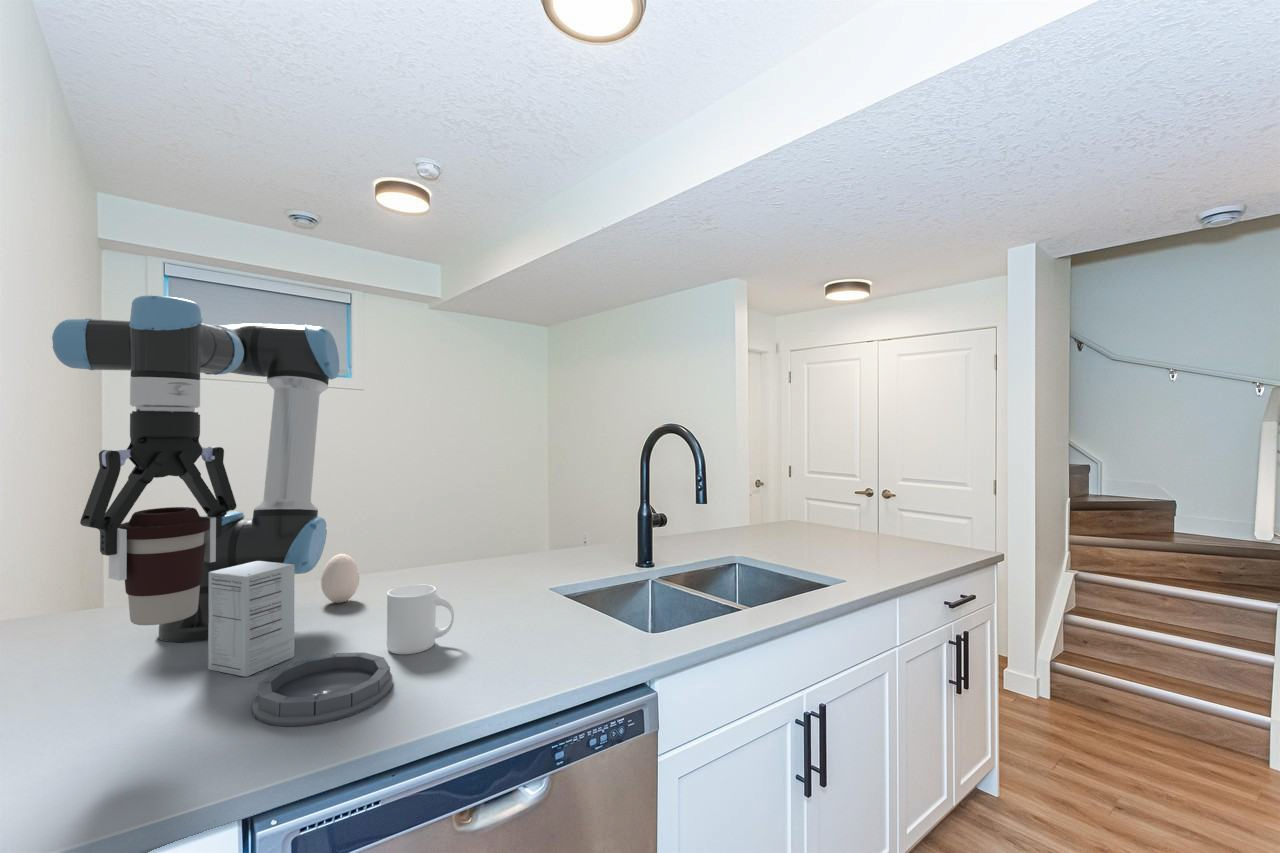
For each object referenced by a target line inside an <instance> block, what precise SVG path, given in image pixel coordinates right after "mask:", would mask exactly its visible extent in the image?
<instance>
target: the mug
mask: <svg viewBox="0 0 1280 853" xmlns="http://www.w3.org/2000/svg"><path fill="white" fill-rule="evenodd" d="M386 594H387V595H386V648H387V650H388V651H389V652H390V653H392V654H394V655H403V656H404V655H413V654H418V653H421V652H425V651H427V650H429V649H430V648H432V647H433V646H434V644H435V642H436V639H438V638H441V637H444V636H446V635H447V634H448V633H449V632H450V630H451V629H452V626H453V625H454V620H455V612H454V608H453V606H452V605H451V603H450V602H449V601H448V600H447V599H445V598H444V597H442V596H440V595H437V588H436V587H435V586H434V585H430V584H425V583H424V584H422V583H421V584H420V583H416V584H415V583H414V584H406V585H405V584H404V585H399V586H397V587H394V588H391V589H389V590H388V591H387V593H386ZM437 606H439V607H440V606H441V607H444V608H446V609H448V610H449V612H450V615H451V620H450V622H449V623H448V625H447V626H445V627H444V628H440V627H436V624H437V622H436V619H437V618H436V616H437V614H436V613H437V608H436V607H437Z"/></svg>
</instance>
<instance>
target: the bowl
mask: <svg viewBox="0 0 1280 853" xmlns="http://www.w3.org/2000/svg"><path fill="white" fill-rule="evenodd" d="M390 668H391V667H390V665H389V663H388V661H387V660H386V659H385V657H383V656H379V655H377V654H376V655H375V654H372V653H368V652H336V653H330V654H325V655H324V654H323V655H317V656H314V657H308V658H304V659H300V660H298V661H295V662H293V663H290V664H288V665H285V666H282V667H280V668H277V669H275V670H273V671H272V672H270V674H268V675H267V676H266V677H264V678H263V679H262V680H260V681H259V682H258V683H257V694H256V695H255V696H254V698H253V700H252V707H251V711H252V715H253V717H254V718H255V719H257V721H258V722H261V723H263V724H267V725H270V726H277V727H285V728H286V727H292V728H293V727H307V726H315V725H321V724H326V723H330V722H335V721H338V720H341V719H345V718H348V717H351V716H353V715H356V714H359V713H361V712H363V711H366V710H368V709H370V708H371V707H373V706H375V705H376V704H378V703H379V702H381V701H382V700H384V699H385V698H386V697H387V696H388V694H390V692H391V691H392V689H393V674H392V672H391V669H390Z"/></svg>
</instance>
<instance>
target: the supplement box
mask: <svg viewBox="0 0 1280 853" xmlns="http://www.w3.org/2000/svg"><path fill="white" fill-rule="evenodd" d="M207 640H208V644H207V646H208V651H207V655H208V657H207V662H208V663H207V664H208V665H207V667H208V670H210V671H214V672H221V673H225V674H229V675H235V676H240V677H245V678H246V677H249V676H251V675H253V674H256V673H259V672H261V671H264V670H266V669H268V668H272V667H273V666H276V665H278V664H281V663H282V662H283V663H284V662H285V661H287V660H290V659H293V658H294V657H295V574H294V564H285V563H275V562H266V561H254V562H249V563H245V564H241V565H237V566H233V567H228V568H224V569H219V570H215V571H211V572H209V625H208V639H207Z"/></svg>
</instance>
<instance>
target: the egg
mask: <svg viewBox="0 0 1280 853" xmlns="http://www.w3.org/2000/svg"><path fill="white" fill-rule="evenodd" d="M321 573H322V574H321V577H320V578H321V579H320V581H321V582H320V584H321V590H322V593H323V595H324V596H325V597H326V599H328V600H329V601H331V603H336V604H341V603H345V602H346V601H348V600H350V599H351V598H352V597H353V596H354V595H355V593H356V592H357V590H358V587H359V585H360V572H359V568H358V565H357V563H356V561H355V560H354V559H353V558H352V557H351V556H350V555H348V554H345V553H338V554H336V555H334V556H333V557H331V558H330V559H329V560H328V561H327V563H326V565H325V566H324V569H323V570H322V572H321Z"/></svg>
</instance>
